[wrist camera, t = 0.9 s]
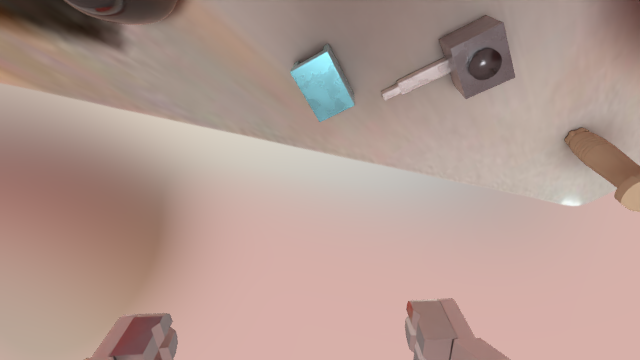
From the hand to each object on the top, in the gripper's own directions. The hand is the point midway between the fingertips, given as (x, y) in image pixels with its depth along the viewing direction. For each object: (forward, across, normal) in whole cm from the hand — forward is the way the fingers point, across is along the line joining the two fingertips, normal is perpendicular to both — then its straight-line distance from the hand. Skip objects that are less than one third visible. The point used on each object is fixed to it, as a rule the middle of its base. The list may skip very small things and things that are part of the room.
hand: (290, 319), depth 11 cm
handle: (+39, -41, +7) cm, 57 cm away
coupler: (+39, -18, -4) cm, 43 cm away
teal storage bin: (+40, -3, -4) cm, 41 cm away
